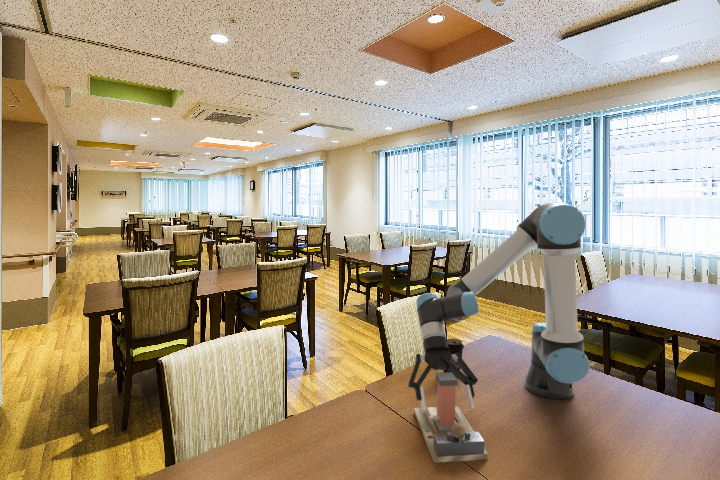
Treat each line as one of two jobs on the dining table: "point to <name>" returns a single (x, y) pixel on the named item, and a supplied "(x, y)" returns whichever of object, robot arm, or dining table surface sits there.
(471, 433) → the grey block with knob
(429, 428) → the cream base plate
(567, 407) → the dining table surface
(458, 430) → the brown ball
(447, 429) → the handle
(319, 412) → the dining table surface
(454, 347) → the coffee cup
